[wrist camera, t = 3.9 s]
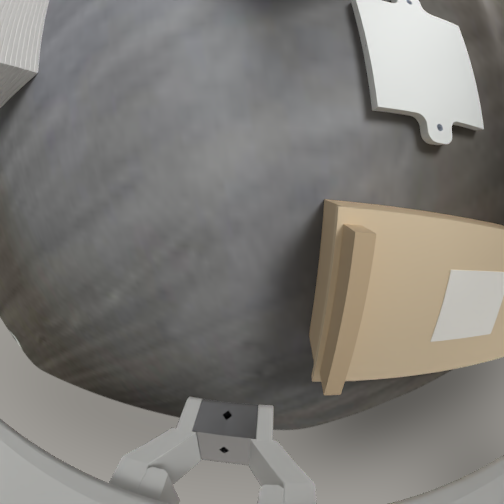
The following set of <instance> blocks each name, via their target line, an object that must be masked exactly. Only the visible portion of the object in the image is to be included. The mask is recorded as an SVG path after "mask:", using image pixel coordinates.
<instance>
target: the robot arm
mask: <svg viewBox="0 0 504 504" xmlns="http://www.w3.org/2000/svg"><path fill="white" fill-rule="evenodd" d="M273 409H274V407H273V405H259V406H258V405H256V404H242V403H228V402H221V401H214V400H208V399H201V398H195V397H189V398H188V399H187V401H186V403H185V406H184V408H183V411H182V414H181V416H180V419H179V421H178V424H177V427H176V428H170V429H169V430H167V431H166V432H164V433H162V434H161V435H159V436H157V437H156V438H154V439H152V440H151V441H149V442H147V443H145V444H144V445H142V446H140V447H138V448H137V449H135V450H133V451H131V452H129V453H127V454H126V455H124V456H122V458H121V460H120V462H119V464H118V466H117V468H116V470H115V472H114V474H113V476H112V478H111V480H110V482H109V483H107V482H105V481H102V480H100V479H98V478H95V477H93V476H91V475H89V474H87V473H85V472H83V471H81V470H79V469H76V468H75V467H73V466H71V465H69V464H67V463H65V462H64V461H62V460H60V459H58V458H56V457H55V456H53V455H51V454H50V453H48V452H46V451H45V450H43V449H41V448H40V447H38V446H37V445H35V444H34V443H32V442H31V441H29V440H28V439H27V438H25V437H24V436H22V435H21V434H19V433H18V432H17V431H15V430H14V429H13V428H11V427H10V426H9V425H8V424H6V423H5V422H4V421H2V420H1V419H0V504H179V502H180V499H179V497H178V495H177V493H176V491H175V489H174V487H173V484H174V483H175V482H177V481H178V480H179V479H180V478H181V477H183V476H184V475H185V474H186V473H187V472H189V471H190V470H191V469H192V468H193V467H194V466H196V465H197V464H198V463H199V462H200V461H201V459H202V460H210V461H217V462H226V463H233V464H242V465H249V467H250V469H251V471H252V472H253V474H254V476H255V477H256V479H257V480H258V482H259V484H260V485H261V487H260V491H259V496H258V502H257V504H316V491H315V483H314V482H313V481H312V480H311V479H310V478H309V477H308V475H307V474H306V473H305V472H304V471H303V470H302V469H301V468H300V467H299V465H298V464H297V463H296V462H295V461H294V460H293V459H292V457H291V456H290V455H289V454H288V453H287V452H286V450H285V449H284V448H283V447H282V446H281V444H280V443H279V442H278V441H277V440H273ZM257 415H258V416H257ZM389 504H504V455H503V456H501V457H500V458H498V459H496V460H495V461H493V462H491V463H489V464H488V465H486V466H484V467H482V468H480V469H478V470H476V471H474V472H472V473H470V474H468V475H467V476H464V477H462V478H460V479H458V480H456V481H453V482H451V483H449V484H446V485H444V486H441V487H439V488H436V489H434V490H431V491H428V492H426V493H423V494H420V495H417V496H414V497H410V498H407V499H404V500H401V501H397V502H393V503H389Z"/></svg>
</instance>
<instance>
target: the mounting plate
mask: <svg viewBox="0 0 504 504" xmlns="http://www.w3.org/2000/svg"><path fill="white" fill-rule="evenodd" d="M391 2H392V3H390V2H386V1H381V0H352V2H351V4H352V7H353V11H354V15H355V19H356V23H357V27H358V31H359V35H360V40H361V44H362V49H363V54H364V59H365V65H366V71H367V77H368V83H369V90H370V97H371V106H372V111H381V112H389V113H396V114H403V115H409V116H412V117H414V118H415V119H416V120H417V121H418V123H419V126H420V134H421V137H422V139H423V140H424V141H425V142H426V143H428V144H433V145H444V144H449V143H450V142H451V140H452V124H453V125H457V126H461V127H465V128H468V129H472V130H482V129H484V126H483V119H482V112H481V106H480V101H479V96H478V91H477V86H476V82H475V78H474V74H473V70H472V66H471V62H470V59H469V56H468V52H467V49H466V46H465V43H464V40H463V37H462V34H461V32H460V29H459V26H457V25H455V24H453V23H450V22H448V21H446V20H443V19H440V18H438V17H435V16H432V15H430V14H428V13H427V12H425V11H424V10H423V8H422V7H421V4H420V2H419V1H418V0H391Z"/></svg>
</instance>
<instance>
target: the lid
mask: <svg viewBox="0 0 504 504" xmlns="http://www.w3.org/2000/svg"><path fill="white" fill-rule="evenodd" d="M502 357H504V229H500V228H494V227H489V226H484V225H478V224H473V223H467V222H461V221H455V220H449V219H443V218H436V217H429V216H422V215H415V214H407V213H400V212H391V211H383V210H374V209H365V208H355V207H344V206H336V212H335V223H334V234H333V244H332V253H331V261H330V269H329V277H328V284H327V292H326V298H325V305H324V311H323V317H322V323H321V329H320V335H319V340H318V346H317V351H316V356H315V361H314V366H313V371H312V375H311V377H312V382H321V383H322V388H323V394H324V395H341V392H342V389H343V386H344V383H345V381H359V380H375V379H387V378H397V377H406V376H414V375H421V374H428V373H434V372H440V371H446V370H451V369H456V368H461V367H466V366H470V365H475V364H479V363H483V362H487V361H491V360H495V359H498V358H502Z"/></svg>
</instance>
